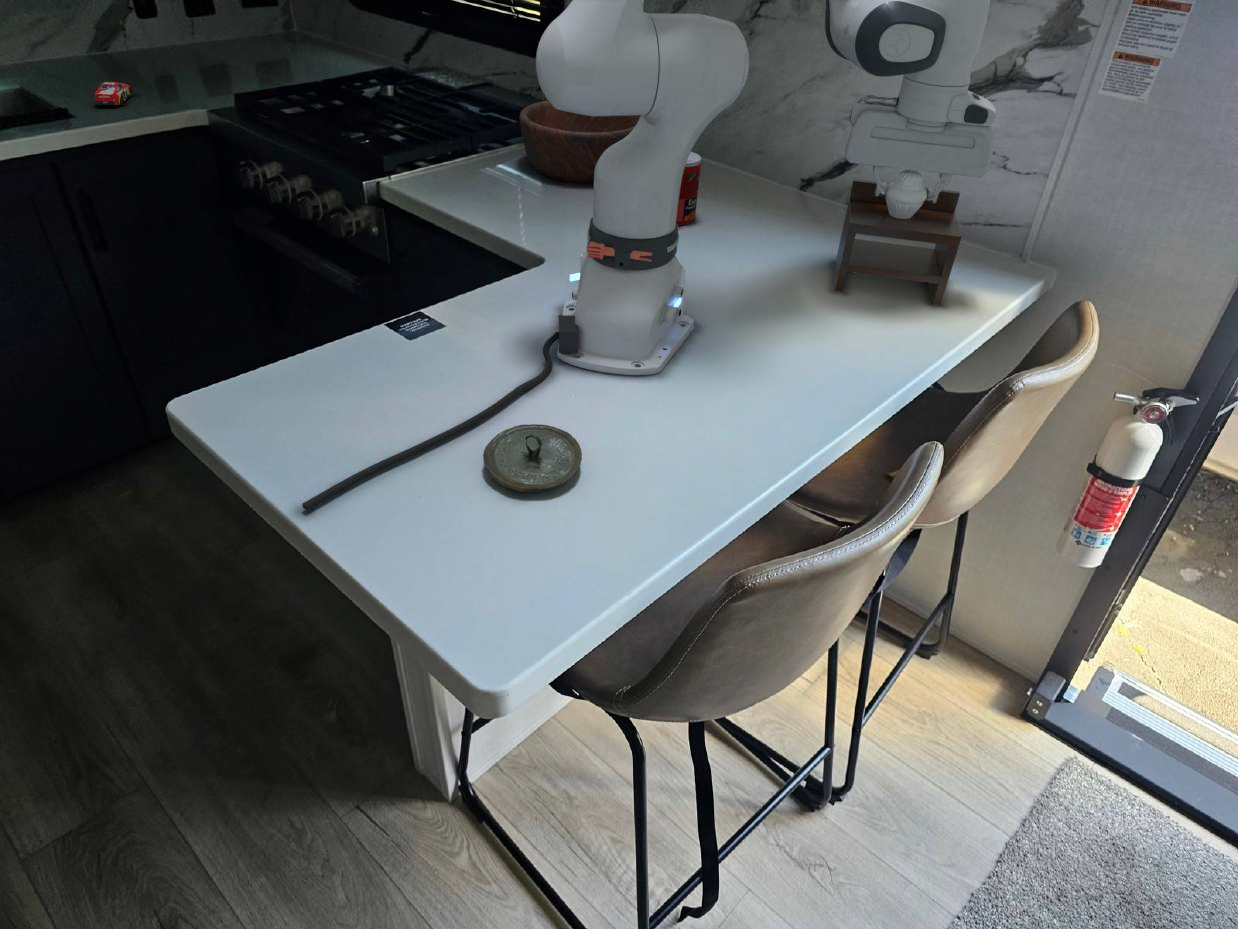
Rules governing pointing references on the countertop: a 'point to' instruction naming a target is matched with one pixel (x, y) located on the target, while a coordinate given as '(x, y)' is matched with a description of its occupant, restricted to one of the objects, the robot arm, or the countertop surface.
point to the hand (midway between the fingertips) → (905, 198)
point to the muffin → (905, 194)
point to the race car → (112, 93)
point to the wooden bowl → (569, 140)
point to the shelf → (898, 259)
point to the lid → (532, 457)
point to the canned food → (689, 190)
